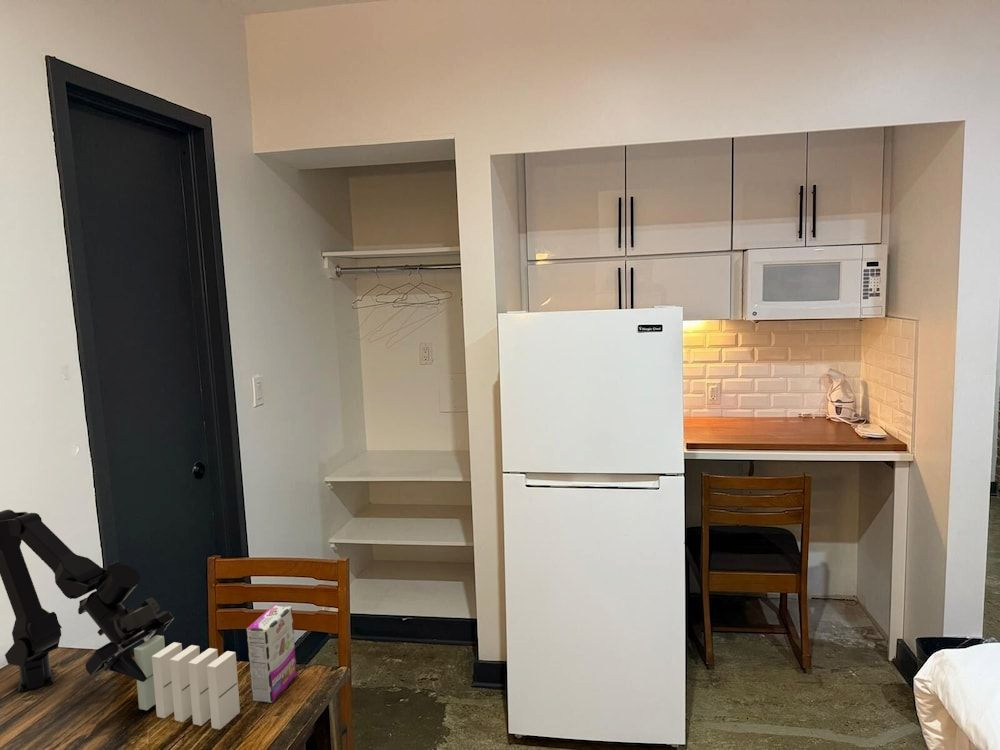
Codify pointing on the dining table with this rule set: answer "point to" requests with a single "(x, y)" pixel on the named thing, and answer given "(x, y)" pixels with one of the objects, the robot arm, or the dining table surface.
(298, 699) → the dining table surface
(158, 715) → the ivory domino
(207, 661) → the ivory domino
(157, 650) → the sage domino
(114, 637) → the robot arm
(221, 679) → the ivory domino
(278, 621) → the candy bar box
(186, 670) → the ivory domino
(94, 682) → the dining table surface
